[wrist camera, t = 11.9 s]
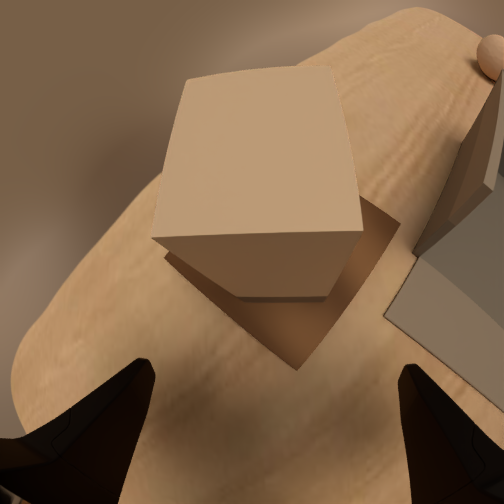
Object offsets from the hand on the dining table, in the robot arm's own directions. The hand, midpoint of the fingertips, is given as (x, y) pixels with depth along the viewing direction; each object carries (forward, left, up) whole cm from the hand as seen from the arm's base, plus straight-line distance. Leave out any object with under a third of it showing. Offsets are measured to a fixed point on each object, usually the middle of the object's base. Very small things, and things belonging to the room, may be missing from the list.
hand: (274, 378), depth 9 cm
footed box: (+5, +4, -8) cm, 11 cm away
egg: (+44, -4, -9) cm, 45 cm away
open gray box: (+15, -16, -9) cm, 24 cm away
